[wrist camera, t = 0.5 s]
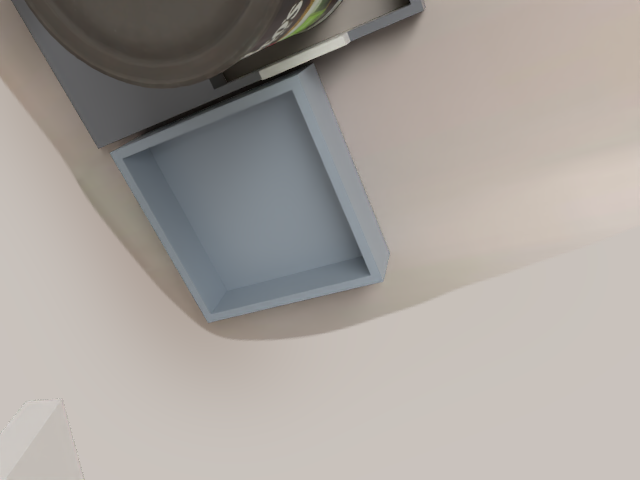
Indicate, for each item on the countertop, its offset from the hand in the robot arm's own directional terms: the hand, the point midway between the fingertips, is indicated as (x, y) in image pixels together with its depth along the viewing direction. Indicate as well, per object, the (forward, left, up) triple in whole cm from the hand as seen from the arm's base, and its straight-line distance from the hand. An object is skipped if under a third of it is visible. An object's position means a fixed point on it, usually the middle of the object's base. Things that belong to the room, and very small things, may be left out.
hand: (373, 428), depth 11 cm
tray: (+1, -11, -23) cm, 26 cm away
